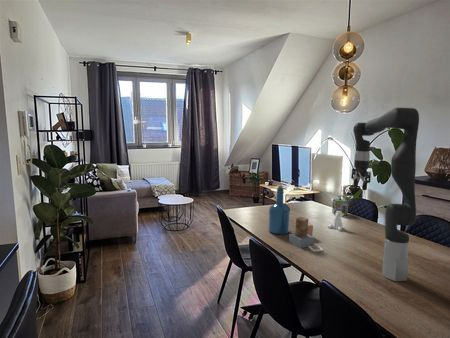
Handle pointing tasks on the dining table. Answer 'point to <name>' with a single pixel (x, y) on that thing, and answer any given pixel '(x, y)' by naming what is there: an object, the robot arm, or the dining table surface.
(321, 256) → the dining table surface
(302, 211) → the dining table surface
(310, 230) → the terracotta block
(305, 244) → the plinth
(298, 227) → the walnut block
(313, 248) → the tile
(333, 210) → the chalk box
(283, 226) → the wine bottle
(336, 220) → the white creature statuette
